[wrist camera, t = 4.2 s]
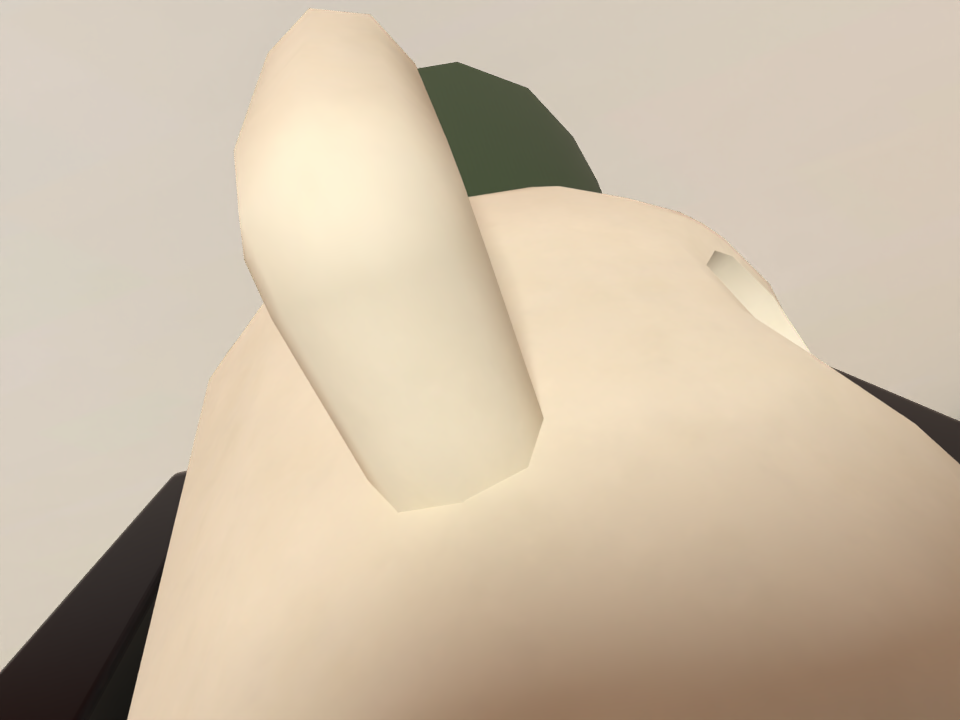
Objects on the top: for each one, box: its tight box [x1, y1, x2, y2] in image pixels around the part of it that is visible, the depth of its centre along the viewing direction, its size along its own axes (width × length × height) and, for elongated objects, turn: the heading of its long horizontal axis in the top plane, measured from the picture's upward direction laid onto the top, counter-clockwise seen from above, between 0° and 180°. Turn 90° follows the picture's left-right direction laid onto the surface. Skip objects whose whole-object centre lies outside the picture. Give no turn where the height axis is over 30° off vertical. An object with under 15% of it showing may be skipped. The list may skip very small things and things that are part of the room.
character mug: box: [127, 8, 960, 720], centre depth 9 cm, size 11×7×13 cm, turn 18°
